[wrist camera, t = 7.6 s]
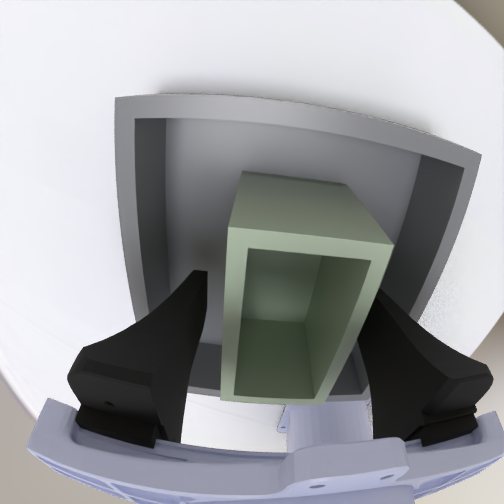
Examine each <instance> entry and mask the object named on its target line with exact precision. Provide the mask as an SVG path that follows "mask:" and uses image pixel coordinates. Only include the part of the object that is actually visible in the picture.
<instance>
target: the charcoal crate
mask: <svg viewBox="0 0 504 504" xmlns="http://www.w3.org/2000/svg"><path fill="white" fill-rule="evenodd" d="M481 156H482V155H481V154H479V153H477V152H475V151H472V150H470V149H468V148H465V147H463V146H461V145H458V144H456V143H453V142H451V141H448V140H445V139H443V138H440V137H437V136H435V135H432V134H429V133H426V132H423V131H420V130H417V129H414V128H410V127H407V126H404V125H400V124H397V123H393V122H390V121H386V120H382V119H378V118H374V117H370V116H366V115H362V114H358V113H353V112H349V111H344V110H339V109H334V108H329V107H323V106H318V105H312V104H306V103H299V102H292V101H285V100H277V99H269V98H259V97H248V96H235V95H218V94H149V95H136V96H125V97H115V165H116V183H117V197H118V208H119V218H120V228H121V236H122V244H123V251H124V258H125V265H126V271H127V277H128V283H129V289H130V295H131V300H132V305H133V310H134V315H135V320H136V322H138V321H139V320H141V319H142V318H144V317H145V316H146V315H148V314H149V313H150V312H152V311H153V310H154V309H155V308H157V307H158V306H159V305H160V304H161V303H162V302H163V301H164V300H165V299H167V298H168V297H169V296H170V295H171V294H172V293H173V292H174V291H175V290H176V289H177V288H178V286H179V285H180V284H181V283H182V282H183V281H184V280H185V279H186V278H187V276H188V275H189V274H190V273H191V272H192V271H193V270H202V271H208V292H207V312H206V318H205V324H204V328H203V331H202V335H201V338H200V341H199V345H198V348H197V351H196V355H195V358H194V361H193V365H192V369H191V373H190V378H189V384H188V390H187V393H193V394H201V395H208V396H217V397H220V396H221V363H222V336H223V313H224V292H225V273H226V255H227V238H228V226H229V222H230V217H231V213H232V209H233V205H234V201H235V197H236V193H237V189H238V185H239V181H240V177H241V173H242V171H247V172H257V173H267V174H276V175H285V176H293V177H301V178H308V179H315V180H322V181H329V182H336V183H342V184H347V185H348V187H349V188H350V189H351V190H352V191H353V193H354V194H355V195H356V196H357V198H358V199H359V200H360V201H361V202H362V204H363V205H364V206H365V207H366V209H367V210H368V211H369V213H370V214H371V215H372V216H373V218H374V219H375V220H376V222H377V223H378V224H379V226H380V227H381V228H382V229H383V231H384V232H385V233H386V235H387V236H388V238H389V239H390V240H391V242H392V243H393V244H394V247H393V250H392V253H391V256H390V259H389V261H388V264H387V267H386V270H385V272H384V275H383V278H382V280H381V283H380V286H379V288H380V289H381V290H383V291H384V292H385V293H386V294H387V295H388V296H389V297H390V298H391V299H392V300H393V301H394V302H395V303H396V304H397V305H398V306H399V307H400V308H401V309H403V310H404V311H405V312H406V313H407V314H408V315H409V316H410V317H411V318H412V319H413V320H414V321H416V322H418V320H419V319H420V317H421V315H422V313H423V311H424V309H425V307H426V305H427V303H428V301H429V299H430V297H431V295H432V293H433V291H434V289H435V287H436V285H437V283H438V280H439V278H440V276H441V274H442V272H443V269H444V267H445V265H446V262H447V260H448V258H449V255H450V253H451V250H452V248H453V245H454V243H455V240H456V238H457V235H458V232H459V230H460V227H461V224H462V221H463V218H464V216H465V213H466V210H467V207H468V203H469V200H470V197H471V194H472V190H473V187H474V183H475V180H476V176H477V172H478V169H479V165H480V161H481ZM370 397H371V395H370V387H369V381H368V377H367V373H366V369H365V366H364V362H363V359H362V355H361V352H360V348H359V345H358V341H357V340H356V342H355V344H354V346H353V348H352V350H351V352H350V354H349V356H348V358H347V360H346V362H345V364H344V366H343V368H342V370H341V372H340V374H339V376H338V378H337V380H336V382H335V384H334V386H333V388H332V389H331V391H330V393H329V395H328V397H327V399H326V400H325V402H342V401H362V400H369V398H370Z"/></svg>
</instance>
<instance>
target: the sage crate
mask: <svg viewBox="0 0 504 504" xmlns="http://www.w3.org/2000/svg"><path fill="white" fill-rule="evenodd" d="M393 247H394V244H393V243H392V242H391V240H390V239H389V238H388V236H387V235H386V233H385V232H384V231H383V229H382V228H381V227H380V226H379V224H378V223H377V222H376V220H375V219H374V218H373V216H372V215H371V214H370V213H369V211H368V210H367V209H366V207H365V206H364V205H363V204H362V202H361V201H360V200H359V199H358V198H357V196H356V195H355V194H354V193H353V191H352V190H351V189H350V188H349V187H348V185H347V184H342V183H336V182H329V181H322V180H315V179H308V178H301V177H293V176H285V175H276V174H267V173H257V172H247V171H242V173H241V177H240V181H239V185H238V189H237V193H236V197H235V201H234V205H233V209H232V213H231V217H230V222H229V226H228V238H227V255H226V273H225V292H224V313H223V336H222V363H221V396H220V400H223V401H233V402H244V403H258V404H277V405H323V404H324V402H325V400H326V399H327V397H328V395H329V393H330V391H331V389H332V388H333V386H334V384H335V382H336V380H337V378H338V376H339V374H340V372H341V370H342V368H343V366H344V364H345V362H346V360H347V358H348V356H349V354H350V352H351V350H352V348H353V346H354V344H355V342H356V340H357V337H358V335H359V333H360V331H361V329H362V326H363V324H364V322H365V319H366V317H367V315H368V313H369V310H370V308H371V305H372V303H373V301H374V298H375V296H376V293H377V291H378V288H379V286H380V283H381V280H382V278H383V275H384V272H385V270H386V267H387V264H388V261H389V259H390V256H391V253H392V250H393Z"/></svg>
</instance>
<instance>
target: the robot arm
mask: <svg viewBox="0 0 504 504" xmlns="http://www.w3.org/2000/svg"><path fill="white" fill-rule="evenodd" d="M207 292H208V271H202V270H193V271H192V272H191V273H190V274H189V275H188V276H187V278H186V279H185V280H184V281H183V282H182V283H181V284H180V285H179V286H178V288H177V289H176V290H175V291H174V292H173V293H172V294H171V295H170V296H169V297H168V298H167V299H165V300H164V301H163V302H162V303H161V304H160V305H159V306H158V307H157V308H155V309H154V310H153V311H152V312H150V313H149V314H148V315H146V316H145V317H144V318H142V319H141V320H139V321H138V322H136V323H135V324H133V325H131V326H130V327H128V328H127V329H125V330H123V331H121V332H119V333H117V334H115V335H113V336H111V337H109V338H107V339H104V340H102V341H99V342H97V343H94V344H91V345H89V346H86V347H83V348H82V350H81V351H80V353H79V354H78V356H77V358H76V359H75V361H74V363H73V365H72V367H71V369H70V371H69V373H68V375H67V380H68V383H69V385H70V387H71V389H72V391H73V392H74V394H75V395H76V397H77V398H78V400H79V401H80V403H81V406H80V409H79V411H77V410H76V409H75V408H73V407H71V406H69V405H67V404H64V403H61V402H59V401H56V400H54V399H51V398H47V400H46V402H45V405H44V407H43V409H42V411H41V413H40V415H39V418H38V420H37V422H36V424H35V427H34V429H33V431H32V434H31V436H30V439H29V441H28V443H27V446H26V448H27V450H28V451H29V452H31V453H32V454H33V455H34V456H36V457H37V458H38V459H40V460H41V461H42V462H43V463H45V464H46V465H47V466H48V467H50V468H51V469H53V470H54V471H56V472H57V473H60V474H62V475H64V476H66V477H68V478H71V479H73V480H75V481H78V482H80V483H82V484H85V485H87V486H90V487H92V488H95V489H97V490H100V491H102V492H105V493H108V494H111V495H113V496H116V497H119V498H122V499H125V500H128V501H131V502H134V503H138V504H415V503H414V500H415V499H418V498H421V497H424V496H426V495H429V494H432V493H434V492H437V491H439V490H442V489H444V488H447V487H449V486H452V485H454V484H456V483H459V482H461V481H463V480H465V479H468V478H470V477H472V476H474V475H476V474H478V473H480V472H481V471H483V470H484V469H486V468H487V467H489V466H490V465H492V464H493V463H495V462H496V461H497V460H499V459H500V458H502V457H503V456H504V430H503V428H502V425H501V423H500V420H499V418H498V415H497V413H496V411H492V412H489V413H486V414H483V415H481V416H479V417H477V418H475V416H474V413H475V412H476V411H477V408H476V406H475V404H476V403H477V402H478V401H479V400H480V399H481V398H482V397H483V396H484V394H485V393H486V392H487V391H488V390H489V389H490V387H491V385H492V383H493V376H492V374H491V372H490V370H489V368H488V367H487V365H486V364H483V363H481V362H478V361H476V360H474V359H471V358H469V357H467V356H465V355H463V354H461V353H459V352H457V351H456V350H454V349H452V348H450V347H449V346H447V345H446V344H444V343H443V342H441V341H440V340H438V339H437V338H435V337H434V336H433V335H431V334H430V333H429V332H427V331H426V330H425V329H424V328H422V327H421V326H420V325H419V324H418V323H417V322H416V321H414V320H413V319H412V318H411V317H410V316H409V315H408V314H407V313H406V312H405V311H404V310H403V309H401V308H400V307H399V306H398V305H397V304H396V303H395V302H394V301H393V300H392V299H391V298H390V297H389V296H388V295H387V294H386V293H385V292H384V291H383V290H381V289H380V288H378V291H377V293H376V296H375V298H374V301H373V303H372V305H371V308H370V310H369V313H368V315H367V317H366V319H365V322H364V324H363V326H362V329H361V331H360V333H359V335H358V337H357V341H358V345H359V348H360V352H361V355H362V359H363V362H364V366H365V369H366V373H367V377H368V381H369V387H370V395H371V397H370V398H369V400H362V401H342V402H324V404H323V405H286V407H285V410H284V412H283V415H282V417H281V420H280V422H279V425H278V427H277V432H279V433H286V437H287V453H272V452H249V451H236V450H225V449H215V448H207V447H200V446H193V445H187V444H181V443H180V442H181V433H182V425H183V417H184V410H185V403H186V396H187V390H188V384H189V378H190V373H191V369H192V365H193V361H194V358H195V355H196V351H197V348H198V345H199V341H200V338H201V335H202V331H203V328H204V324H205V318H206V312H207ZM370 401H371V404H372V415H373V435H372V430H371V425H370V420H369V416H368V411H367V405H368V404H369V403H370Z"/></svg>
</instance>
